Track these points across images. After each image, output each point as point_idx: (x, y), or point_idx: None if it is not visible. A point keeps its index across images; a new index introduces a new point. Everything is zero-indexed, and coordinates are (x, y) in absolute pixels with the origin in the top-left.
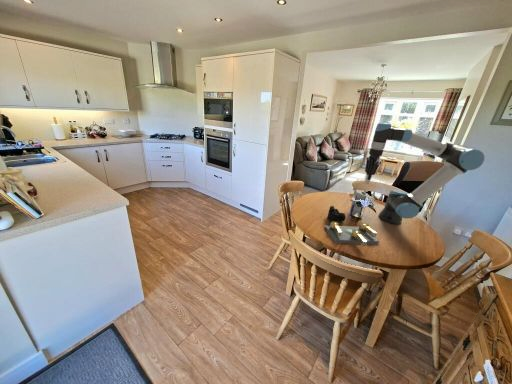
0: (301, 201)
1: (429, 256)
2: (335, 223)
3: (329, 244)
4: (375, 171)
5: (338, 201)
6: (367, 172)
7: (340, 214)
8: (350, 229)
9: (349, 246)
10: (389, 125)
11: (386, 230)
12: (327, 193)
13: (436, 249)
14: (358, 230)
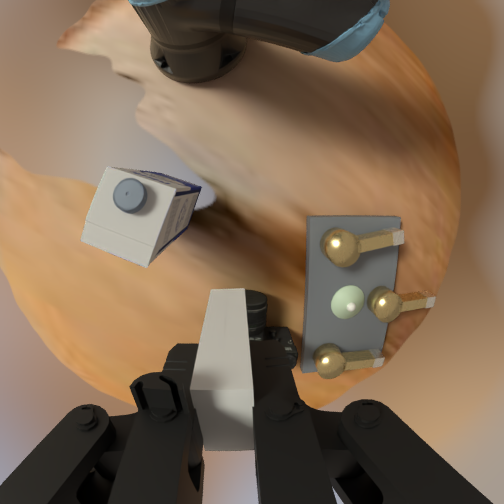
0: (106, 385)
1: (430, 92)
2: (333, 366)
3: (379, 367)
4: (440, 477)
5: (52, 228)
6: (202, 473)
7: (256, 326)
8: (334, 297)
9: (395, 319)
10: None
11: (306, 115)
12: (3, 250)
13: (394, 40)
14: (384, 298)
